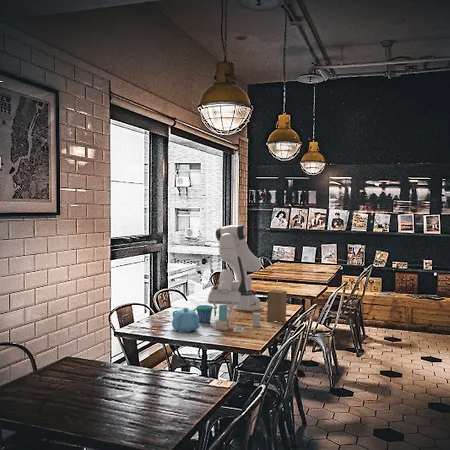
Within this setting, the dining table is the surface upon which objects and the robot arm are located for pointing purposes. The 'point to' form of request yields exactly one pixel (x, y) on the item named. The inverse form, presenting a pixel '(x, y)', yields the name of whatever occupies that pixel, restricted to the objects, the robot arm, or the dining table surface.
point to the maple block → (222, 324)
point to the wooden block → (276, 305)
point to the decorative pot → (185, 320)
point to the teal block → (222, 312)
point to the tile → (238, 329)
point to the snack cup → (205, 313)
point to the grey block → (256, 319)
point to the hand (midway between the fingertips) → (223, 309)
